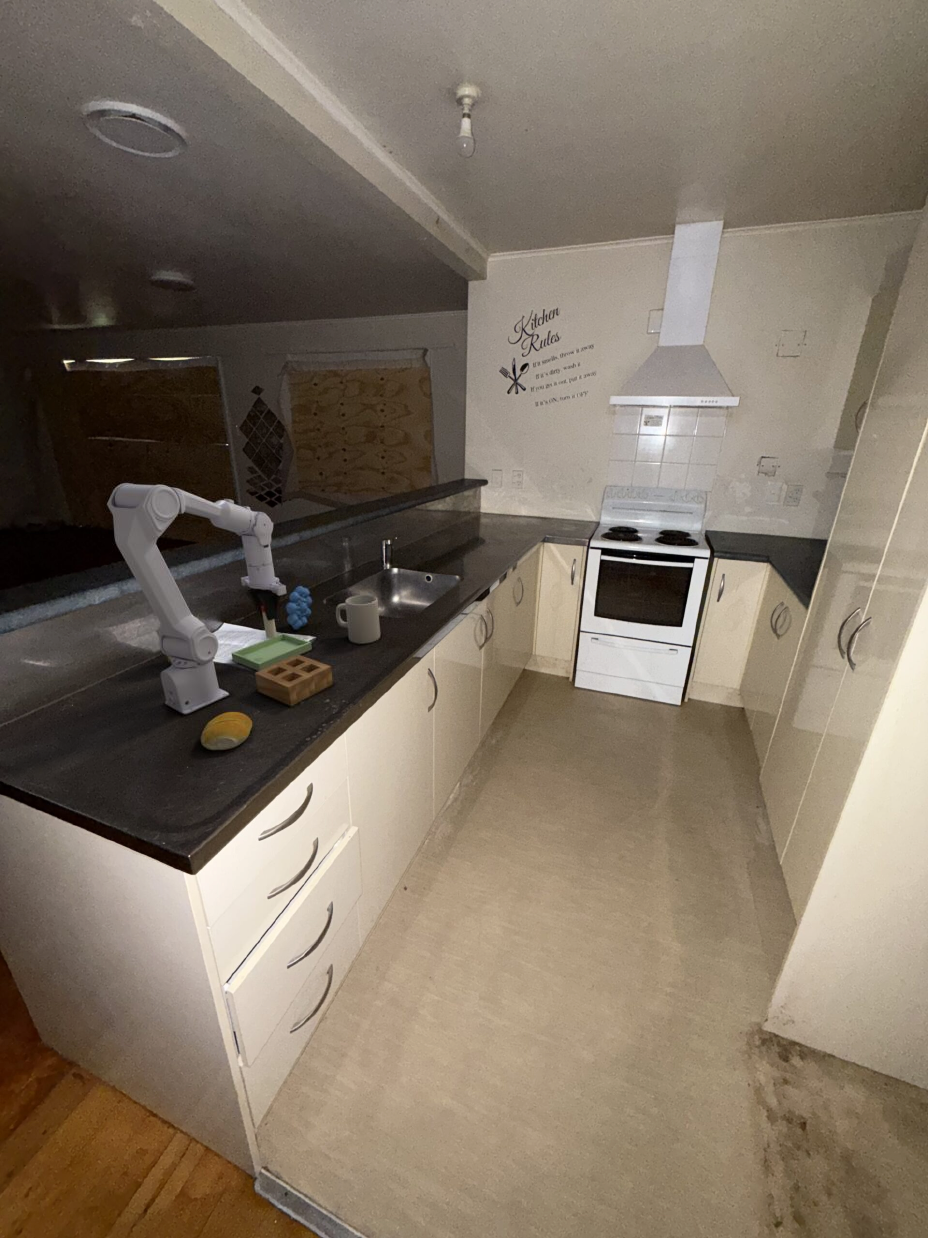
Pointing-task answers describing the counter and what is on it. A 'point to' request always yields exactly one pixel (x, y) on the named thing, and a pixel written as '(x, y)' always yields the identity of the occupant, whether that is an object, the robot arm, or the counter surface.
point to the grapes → (299, 607)
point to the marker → (269, 626)
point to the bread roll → (226, 731)
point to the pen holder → (294, 679)
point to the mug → (360, 618)
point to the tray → (271, 651)
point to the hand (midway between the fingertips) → (268, 617)
